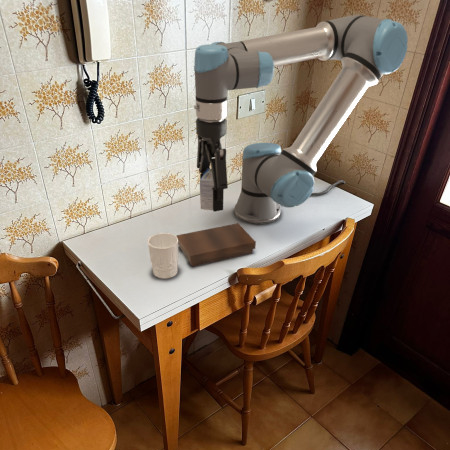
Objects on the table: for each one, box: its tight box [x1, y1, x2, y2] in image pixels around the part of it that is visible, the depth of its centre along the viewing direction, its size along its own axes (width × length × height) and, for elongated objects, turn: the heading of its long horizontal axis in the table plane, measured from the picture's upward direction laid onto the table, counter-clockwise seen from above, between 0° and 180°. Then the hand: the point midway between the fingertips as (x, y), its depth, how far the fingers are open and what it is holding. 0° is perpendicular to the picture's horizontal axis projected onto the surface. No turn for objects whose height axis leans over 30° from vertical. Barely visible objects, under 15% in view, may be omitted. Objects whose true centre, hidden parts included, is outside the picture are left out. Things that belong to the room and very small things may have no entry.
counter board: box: [175, 222, 257, 267], centre depth 130 cm, size 20×12×4 cm, turn 114°
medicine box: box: [199, 168, 214, 211], centre depth 120 cm, size 8×4×9 cm, turn 168°
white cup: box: [147, 232, 179, 280], centre depth 119 cm, size 8×8×10 cm
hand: (211, 202), depth 122 cm, fingers closed on medicine box, 9 cm apart
